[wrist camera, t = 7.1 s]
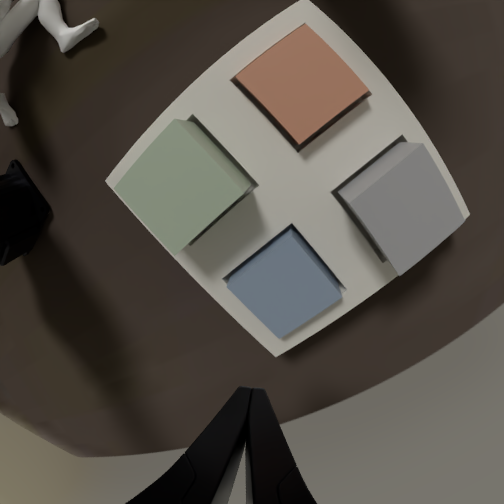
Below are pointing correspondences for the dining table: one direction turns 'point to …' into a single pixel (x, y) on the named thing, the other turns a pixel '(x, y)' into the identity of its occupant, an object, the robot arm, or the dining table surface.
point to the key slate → (285, 282)
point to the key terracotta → (301, 83)
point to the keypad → (290, 173)
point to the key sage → (181, 184)
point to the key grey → (404, 204)
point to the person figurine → (50, 16)
